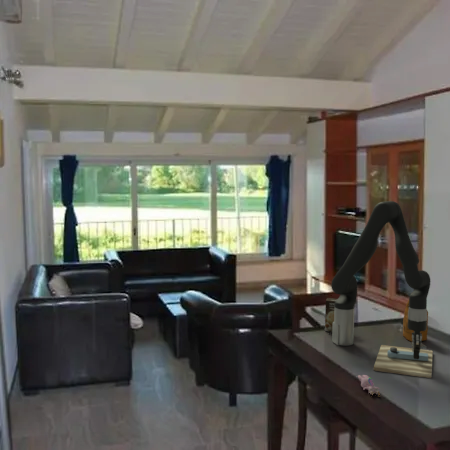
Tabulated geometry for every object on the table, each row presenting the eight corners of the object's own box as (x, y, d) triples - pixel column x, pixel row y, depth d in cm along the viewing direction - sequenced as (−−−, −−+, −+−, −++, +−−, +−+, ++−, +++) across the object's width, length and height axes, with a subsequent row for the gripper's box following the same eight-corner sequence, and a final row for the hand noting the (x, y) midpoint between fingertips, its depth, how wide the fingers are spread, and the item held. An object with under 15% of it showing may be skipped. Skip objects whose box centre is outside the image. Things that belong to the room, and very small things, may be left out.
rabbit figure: (383, 400, 198) (367, 378, 212) (385, 386, 197) (369, 365, 211) (367, 401, 197) (352, 379, 212) (369, 387, 196) (353, 365, 210)
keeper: (417, 355, 237) (418, 346, 237) (410, 351, 243) (410, 342, 243) (426, 355, 238) (426, 346, 238) (418, 350, 244) (418, 341, 244)
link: (387, 357, 234) (387, 353, 233) (387, 353, 238) (387, 349, 238) (428, 361, 229) (428, 356, 229) (427, 357, 234) (427, 353, 233)
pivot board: (431, 378, 216) (431, 364, 215) (373, 370, 224) (374, 357, 224) (432, 354, 244) (432, 342, 244) (381, 347, 252) (381, 336, 252)
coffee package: (419, 334, 273) (421, 291, 271) (429, 342, 261) (431, 297, 258) (399, 334, 273) (401, 291, 270) (409, 342, 260) (410, 297, 258)
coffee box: (324, 331, 278) (324, 300, 277) (326, 327, 284) (326, 297, 283) (342, 332, 275) (343, 301, 274) (343, 329, 281) (344, 299, 280)
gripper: (407, 313, 235) (406, 352, 237) (408, 321, 223) (407, 362, 224) (425, 315, 233) (424, 354, 235) (427, 322, 221) (426, 364, 222)
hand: (416, 358), depth 229 cm, fingers closed
